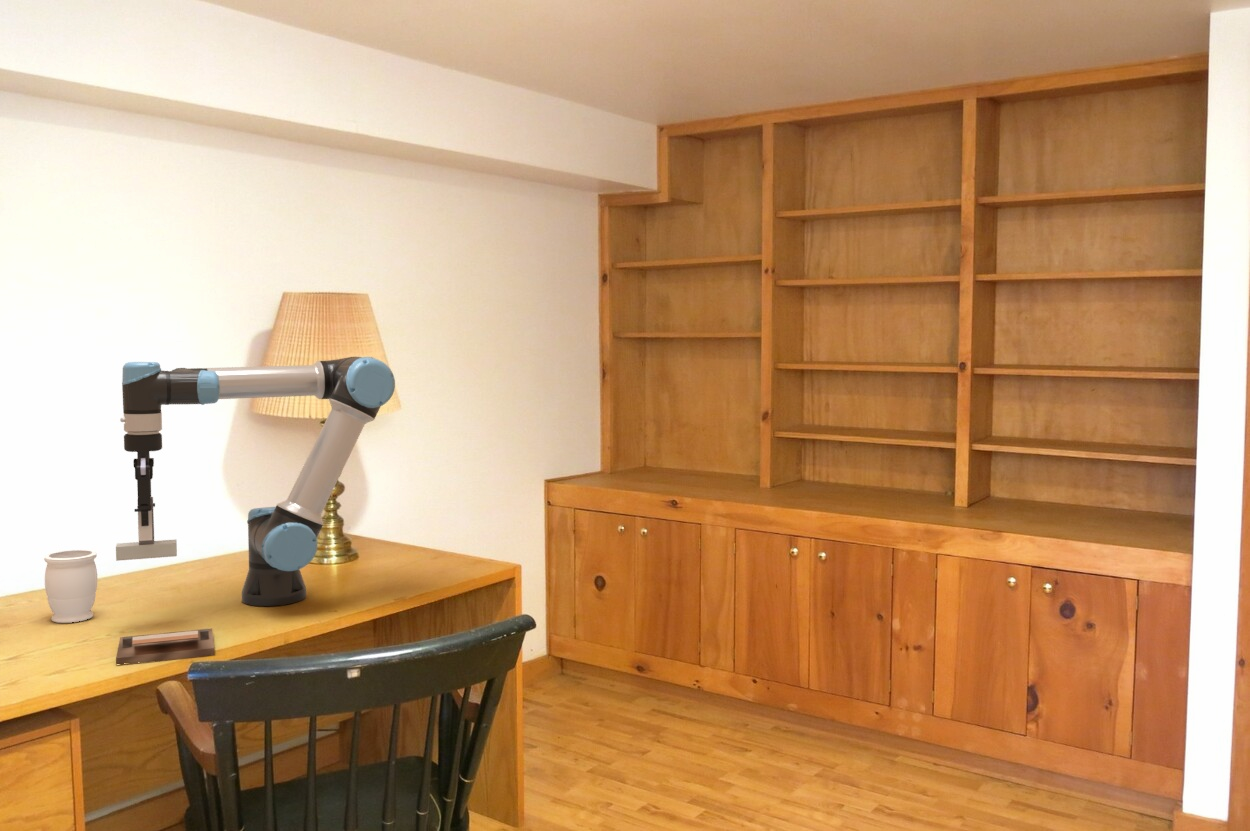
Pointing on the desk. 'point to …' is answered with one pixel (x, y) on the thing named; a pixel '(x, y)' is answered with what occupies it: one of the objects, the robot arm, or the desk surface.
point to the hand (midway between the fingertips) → (145, 538)
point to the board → (165, 648)
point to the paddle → (146, 547)
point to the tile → (165, 637)
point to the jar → (71, 584)
